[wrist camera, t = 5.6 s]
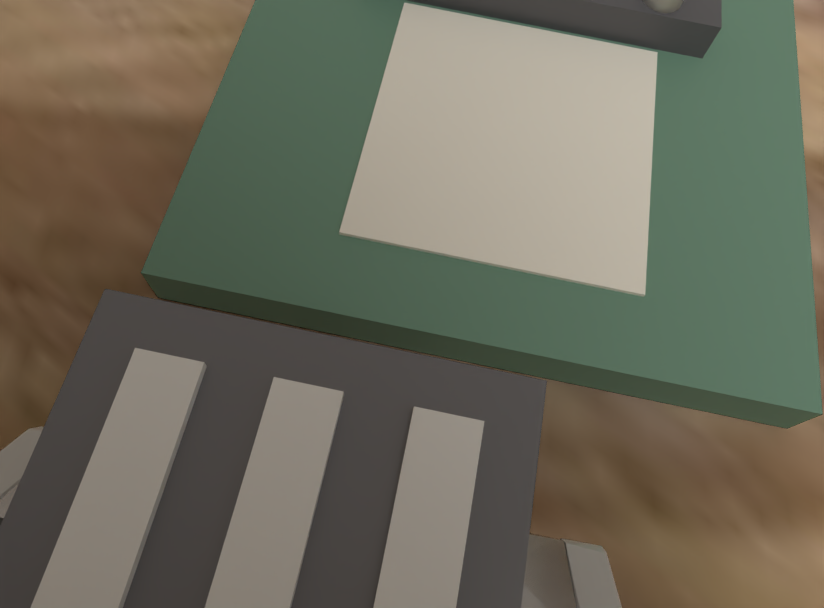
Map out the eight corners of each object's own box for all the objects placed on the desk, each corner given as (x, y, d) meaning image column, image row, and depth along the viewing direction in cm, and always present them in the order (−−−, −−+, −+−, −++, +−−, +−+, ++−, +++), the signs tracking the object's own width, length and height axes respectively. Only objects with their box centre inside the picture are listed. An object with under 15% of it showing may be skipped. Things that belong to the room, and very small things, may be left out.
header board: (158, 297, 14) (-17, 46, 8) (301, -61, 19) (268, -398, 13) (786, 428, 14) (1155, 282, 8) (768, 30, 19) (979, -267, 12)
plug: (182, 685, 11) (-151, 847, 4) (250, 460, 13) (100, 283, 6) (406, 734, 11) (481, 992, 4) (445, 501, 13) (549, 376, 6)
